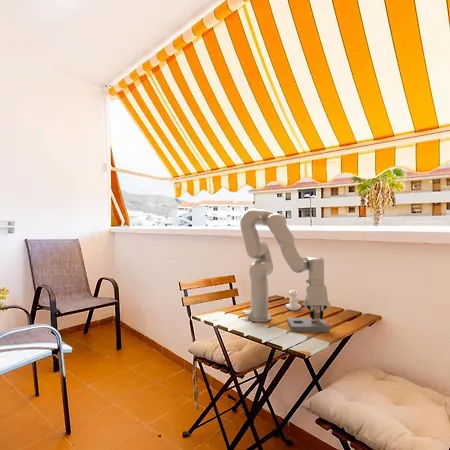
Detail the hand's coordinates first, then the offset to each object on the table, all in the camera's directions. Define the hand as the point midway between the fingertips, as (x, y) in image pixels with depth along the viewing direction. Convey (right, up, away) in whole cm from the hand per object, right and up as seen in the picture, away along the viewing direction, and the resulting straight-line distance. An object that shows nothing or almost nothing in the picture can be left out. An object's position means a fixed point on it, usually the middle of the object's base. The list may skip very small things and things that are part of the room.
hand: (316, 318), depth 161 cm
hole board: (-5, -5, 0) cm, 6 cm away
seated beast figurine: (-5, -4, +32) cm, 33 cm away
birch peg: (0, -4, 0) cm, 4 cm away
